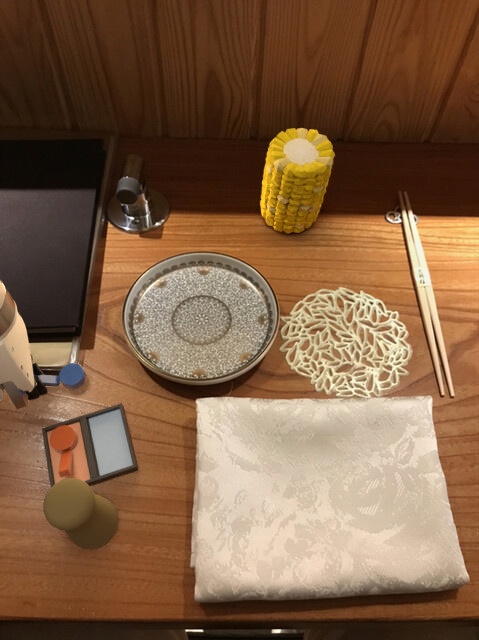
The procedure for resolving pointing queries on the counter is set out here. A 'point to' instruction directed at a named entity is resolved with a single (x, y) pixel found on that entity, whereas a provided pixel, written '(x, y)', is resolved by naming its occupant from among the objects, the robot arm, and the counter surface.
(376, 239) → the counter surface
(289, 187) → the food
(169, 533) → the counter surface
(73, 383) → the blue spoon
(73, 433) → the terracotta spoon
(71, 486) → the olive waisted cylinder
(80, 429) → the sorting tray
